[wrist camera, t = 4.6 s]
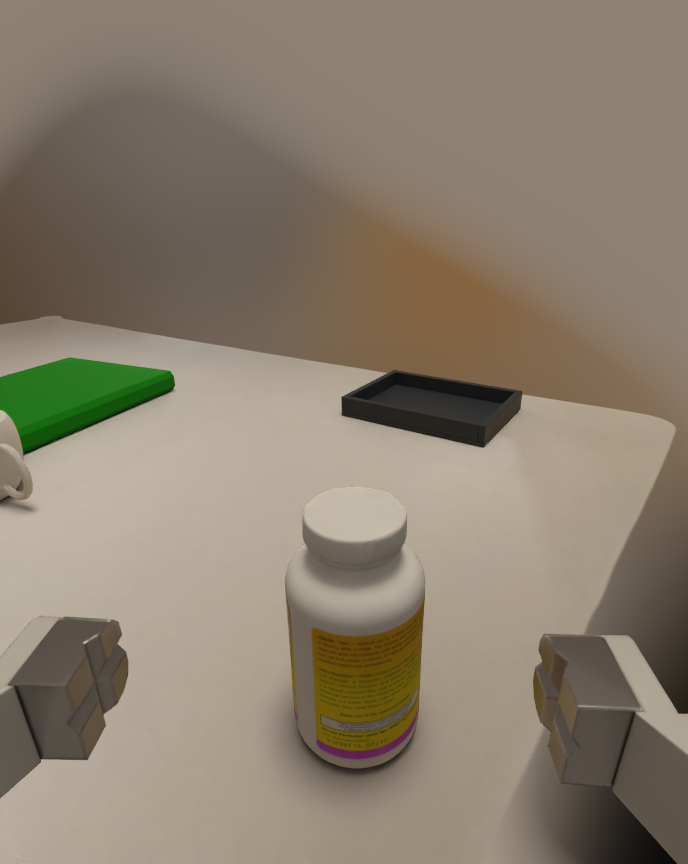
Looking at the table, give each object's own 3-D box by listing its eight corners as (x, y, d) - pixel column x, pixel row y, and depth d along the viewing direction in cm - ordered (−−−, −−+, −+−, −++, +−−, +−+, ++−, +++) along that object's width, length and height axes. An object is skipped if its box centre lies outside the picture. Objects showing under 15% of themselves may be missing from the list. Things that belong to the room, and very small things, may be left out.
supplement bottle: (444, 727, 27) (463, 520, 22) (341, 804, 24) (336, 580, 19) (366, 647, 32) (368, 463, 27) (272, 701, 29) (253, 502, 24)
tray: (520, 409, 70) (522, 391, 69) (483, 447, 59) (485, 426, 58) (393, 386, 80) (393, 370, 79) (341, 415, 69) (341, 396, 68)
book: (-116, 434, 65) (-125, 412, 64) (73, 374, 89) (69, 357, 87) (-1, 465, 56) (-8, 441, 55) (175, 390, 80) (172, 371, 79)
